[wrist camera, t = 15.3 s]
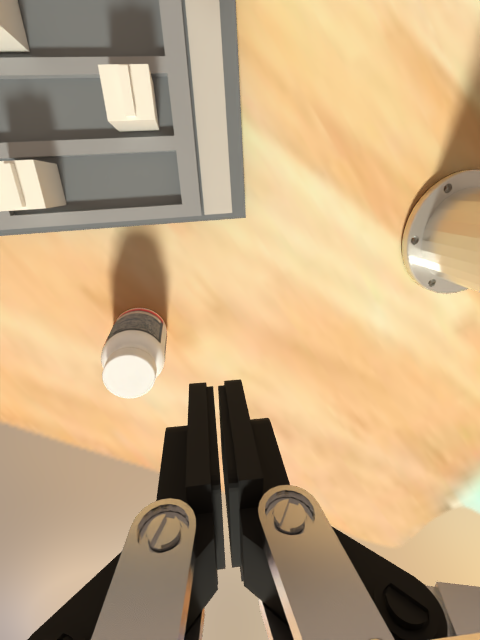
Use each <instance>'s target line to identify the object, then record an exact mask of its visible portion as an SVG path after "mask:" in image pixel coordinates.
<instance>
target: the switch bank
mask: <svg viewBox="0 0 480 640" xmlns="http://www.w3.org/2000/svg"><path fill="white" fill-rule="evenodd" d="M18 4H19V8H20V13H21V17H22V21H23V25H24V29H25V34H26V38H27V42H28V46H29V50H30V52H0V161H13V160H38V161H44V162H49V163H54V164H57V167H58V171H59V175H60V180H61V184H62V188H63V192H64V196H65V200H66V205H64V206H58V207H51V208H44V209H29V210H14V211H0V236H5V235H18V234H32V233H45V232H59V231H72V230H86V229H99V228H113V227H126V226H140V225H153V224H167V223H180V222H194V221H207V220H221V219H234V218H246V215H245V193H244V172H243V151H242V130H241V108H240V87H239V66H238V45H237V23H236V2H235V0H18ZM103 64H148V65H149V69H150V73H151V77H152V81H153V85H154V92H155V100H156V108H157V116H158V123H159V130H154V131H127V132H119V131H118V130H117V129H116V128H115V127H114V126H113V125H112V124H110V123H109V122H108V119H107V113H106V108H105V102H104V96H103V91H102V85H101V80H100V74H99V69H98V65H103Z"/></svg>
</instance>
